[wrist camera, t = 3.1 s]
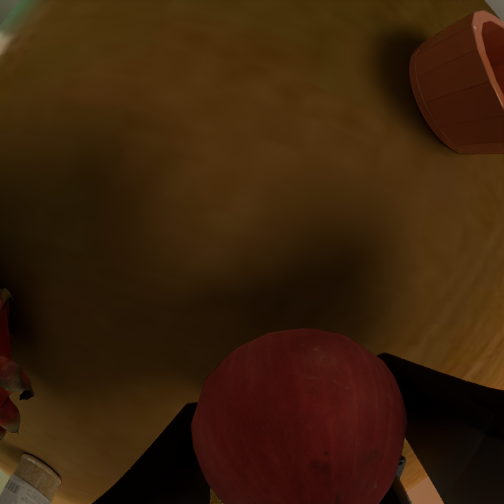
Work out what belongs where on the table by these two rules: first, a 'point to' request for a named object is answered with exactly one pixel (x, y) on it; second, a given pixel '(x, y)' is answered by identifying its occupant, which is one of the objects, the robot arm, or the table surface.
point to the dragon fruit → (9, 373)
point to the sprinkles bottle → (30, 483)
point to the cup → (463, 84)
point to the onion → (300, 422)
